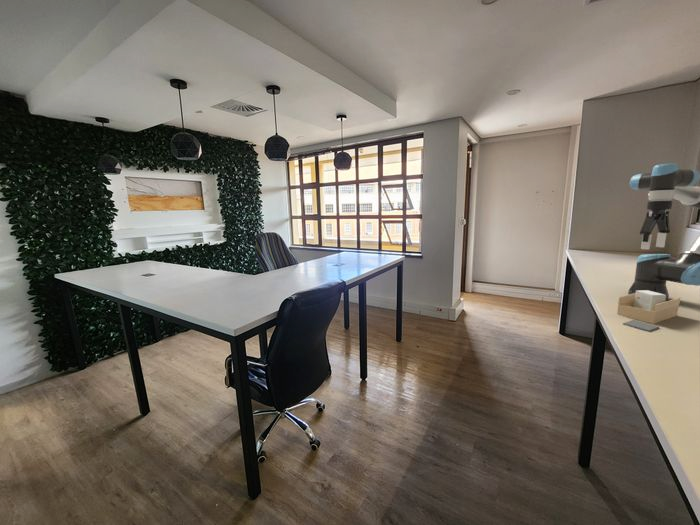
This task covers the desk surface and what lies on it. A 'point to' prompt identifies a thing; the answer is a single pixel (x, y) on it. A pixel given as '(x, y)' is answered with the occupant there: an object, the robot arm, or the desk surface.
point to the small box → (648, 299)
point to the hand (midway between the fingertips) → (652, 248)
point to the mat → (641, 325)
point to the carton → (660, 314)
